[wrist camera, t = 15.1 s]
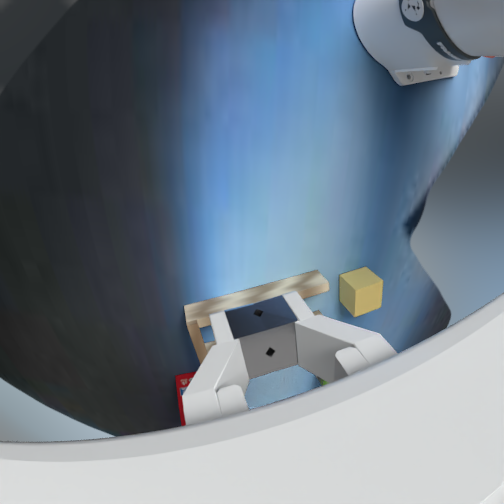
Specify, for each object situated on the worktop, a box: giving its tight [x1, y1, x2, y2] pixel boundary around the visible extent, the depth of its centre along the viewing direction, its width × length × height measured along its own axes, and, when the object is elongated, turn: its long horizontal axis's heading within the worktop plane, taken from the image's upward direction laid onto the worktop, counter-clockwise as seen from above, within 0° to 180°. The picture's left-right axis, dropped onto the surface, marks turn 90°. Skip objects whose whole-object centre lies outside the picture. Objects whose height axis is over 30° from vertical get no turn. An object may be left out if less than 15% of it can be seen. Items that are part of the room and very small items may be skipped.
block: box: [339, 267, 383, 317], centre depth 47 cm, size 5×5×5 cm
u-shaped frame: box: [184, 270, 329, 364], centre depth 45 cm, size 20×9×5 cm, turn 99°
